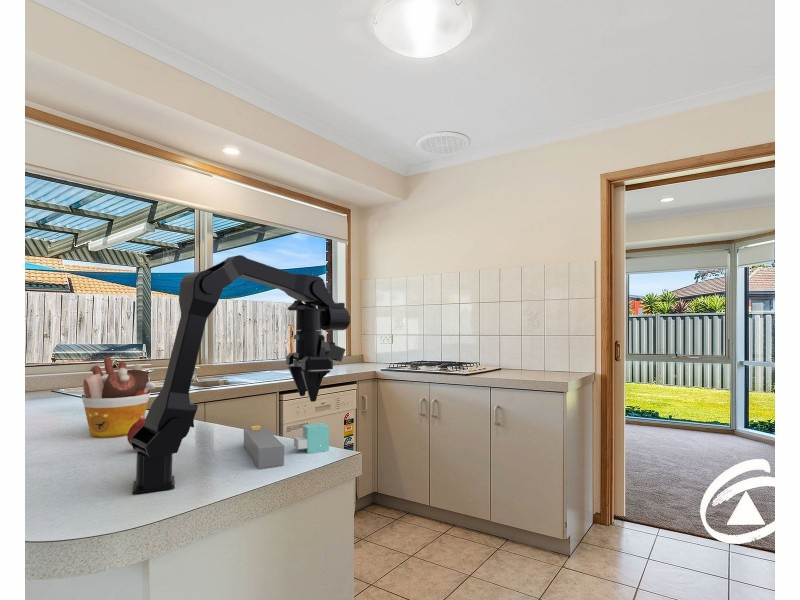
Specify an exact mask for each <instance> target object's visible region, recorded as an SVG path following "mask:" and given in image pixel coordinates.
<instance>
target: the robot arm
mask: <svg viewBox="0 0 800 600" xmlns="http://www.w3.org/2000/svg"><path fill="white" fill-rule="evenodd" d="M238 278H241V279H244V280H247V281H251V282H254V283H258V284H261V285H264V286H266V287H267V286H268V287H271V288H275V289H277V290H280V291H282V292H284V293H285V294H286V295H287V296H289V297H290V298H292V299H294V301H293V303H292V304H290V305H289V306H288V307H287V310H288V311H290V312H291V311H293V312H296V314H295V317H296V318H295V319H296V320H295V321H296V322H295V334H293V340H295V352H289V353H288V354H287V355H286V357H285V358H286V359H285V364H286V365H287V369H288V370H289V373H290V375H291V378H292V379H293V382H294V384H295V387H296V389H297V391H298V394H299V396H300V397H304V396H306V392H307V395H308V398H309V401H310V402H312V403H313V402H316V401H317V399H318V398H317V397H318V395H319V391H320V387H321V385H322V382H323V379H324V377H325V376H327V375H328V374H330V372H332V371H331V370H333V369H334V361H335V362H340V363H341V362H342V360H343V358H344V355H345V353H346V350H347V349H345V348H343V347H341V346H338V345H336V343H335V342H333V341H331V340H326V338H325V337H326V336H325V335H323V334H322V331H345V330H346V329H348V328H349V325H350V324H351V316H350V313H349V311H348V309H347V308H346V307H345V302H335V301H334V299H333V298H332V296H331V294H330V292H329V290H328V288H327V286H326V283H325V281H324V279H323V278H322V277H321V276H319V275H314V274H303V273H302V274H301V273H291V272H288V271H286V270H282V269H279V268H276V267H273V266H270V265H269V264H268V265H267V264H264V263H262V262H260V261H256V260H253V259H250V258H248V257H246V256H244V255H241V254H238V255H234V256H233V255H232V256H230V257H229V256H228V257H227V258H225V259H224V260H223V261H221V262H219V263H217V264H215V265H213V266H211V267H208V268H206V269H204V270H202V271H195V272H194V271H193V272H190V273H188V274H186V275H184V276H183V277H182V278H181V280H180V283H179V294H178V302H179V310H180V318H179V322H178V326H177V330H176V334H175V339H174V343H173V346H172V350H171V354H170V357H169V362H168V365H167V370H166V373H165V378H164V382H163V386H162V388H161V390H160V392H159V393H158V395H157V396H156V398H155V399H154V400H153V402H152V403H151V406H150V407H149V410H148V412H147V414H146V417H145V422H144V425H143V426H142V427H141V428H140V429H139V430H138V431H137V432H136V433H135V434H134V435H133V436H132V437H131V438H130V442H131V445H132V446H131V445H130V446H131V447H132V449H133V450H136V451H137V452H136V464H135V465H136V466H135V468H136V469H135V471H136V473H135V476H136V477H135V480H134V481H133V486H132V494H133V495H136V494H137V495H138V494H143V493H149V492H157V491H163V490H165V491H166V490H172V489H175V486H176V485H175V483H176V482H175V475H173V454H177V453H178V452H179V450H180V449H179V448H180V446H181V444H182V441H183V439H184V438H186V437H187V436H188V434H189V432H190V429H191V428H194V427H195V422H194V420H195V417H196V413H197V411H198V409H199V405H198V404H197V403H193V402H191V399H190V389H191V385H192V380H193V377H194V373H195V369H196V365H197V361H198V356H199V352H200V349H201V344H202V340H203V336H204V332H205V327H206V323H207V320H208V318H209V316H210V315H211V313H212V312H213V311H214V309H215V308H216V307H217V305H218V303H219V300H220V298H221V295H222V292H223V290H224V289H225V288H226V287H228V286H229V285H231V284H232V283H234V282H235V281H236V280H237V279H238ZM325 340H326V341H325Z"/></svg>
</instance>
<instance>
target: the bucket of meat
mask: <svg viewBox="0 0 800 600" xmlns="http://www.w3.org/2000/svg"><path fill="white" fill-rule="evenodd" d="M103 364H104V365H103V366H104V369H105V373H106V374H104V373H103V371H102V369H101V367H100V366H99V365H93V366H92V369H91V371H92V374H91V376H86V377H84V378H83V380H82V390H83V394H82V395H81V399H82V400H81V401H82V403H83V407H84V412H85V416H86V420H87V425H88V430H89V433H90V435H92V436H93V437H94V438H98V439H99V438H101V439H105V438H106V439H108V438H110V439H111V438H118V437H119V438H120V437H125V436H126V437H127V435H128V431H129V429H130V428H131V426H132V425H133V424H134V423H136V422H137V421H138V420H139V419H140V416H142V415H143V416H145V415H146V411H147V407H148V403H149V399H150V397H151V390H155V388H156V387H157V386H156V384H155V383H153V382H151V381H149V372H148V371H145V370H141V369H142V368H143V365H142V364H140V363H136V364H134V365H133V366H132V368H131V369H128V370H127V363H126V362H125V361H124V360H122V361H120V362H118V364H117V365H118V369H117V371H114V366H113V362H112V358H111V357H110V356H105V357H104V359H103Z"/></svg>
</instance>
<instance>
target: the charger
mask: <svg viewBox="0 0 800 600" xmlns="http://www.w3.org/2000/svg"><path fill="white" fill-rule="evenodd" d="M320 445H321V446H320ZM293 446H294V447H295V448H296V449H297V450H303V451H305V453H306V454H311V453H317V452H318V453H319V452H326V451H329V450H330V426H329V425H328V424H327V423H325V422H320V423H310V424H303V425H302V435H300V436H299V435H298V436H293Z"/></svg>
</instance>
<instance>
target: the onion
mask: <svg viewBox="0 0 800 600" xmlns="http://www.w3.org/2000/svg"><path fill="white" fill-rule="evenodd" d="M145 419H146V417H145V415H144V416H143V415H142V416H140V419H139V420H138V421H137V422H136V423H134V424H133V425H132V426H131V428H130V429H129V431H128V435H127V436H126V438H127V442H128V443H129V445H130V446H131V447H132V445H131V442H130V438H131V437H132V436H133V435H134V434H135V433H136V432H137V431H138V430H139V429H140V428H141V427H142V426H143V425H144V422H145Z"/></svg>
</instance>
